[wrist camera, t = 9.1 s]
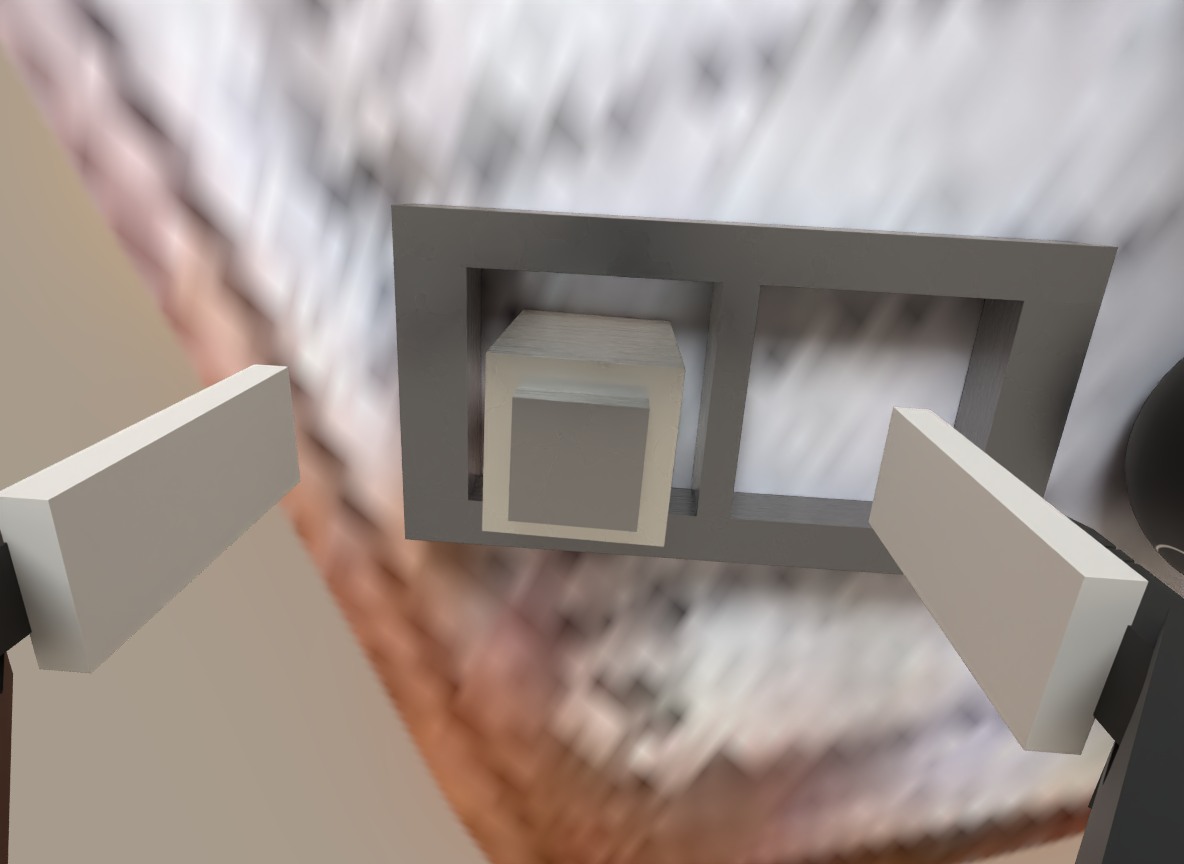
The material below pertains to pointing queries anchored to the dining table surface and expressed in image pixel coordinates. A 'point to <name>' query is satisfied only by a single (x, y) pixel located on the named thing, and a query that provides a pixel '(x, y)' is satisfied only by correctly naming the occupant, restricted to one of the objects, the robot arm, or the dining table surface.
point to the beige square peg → (581, 427)
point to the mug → (1160, 467)
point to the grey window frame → (730, 359)
